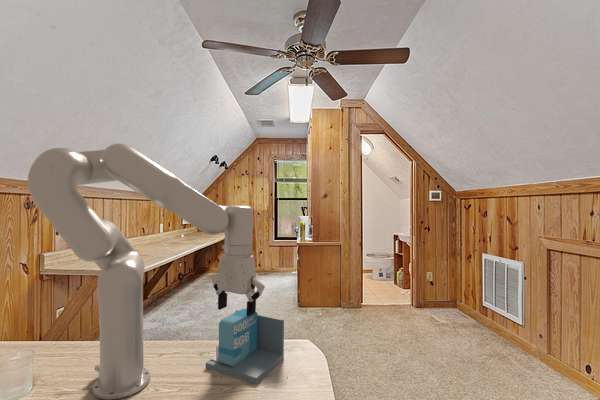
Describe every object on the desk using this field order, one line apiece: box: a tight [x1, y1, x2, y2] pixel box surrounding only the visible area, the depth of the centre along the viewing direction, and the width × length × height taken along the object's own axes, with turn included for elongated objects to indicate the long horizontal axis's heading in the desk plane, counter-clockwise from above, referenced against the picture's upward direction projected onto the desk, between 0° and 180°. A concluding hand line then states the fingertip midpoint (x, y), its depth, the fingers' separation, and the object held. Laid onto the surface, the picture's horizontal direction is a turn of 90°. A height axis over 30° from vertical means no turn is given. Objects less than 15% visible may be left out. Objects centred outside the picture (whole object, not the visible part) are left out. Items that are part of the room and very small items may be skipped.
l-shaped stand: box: [205, 309, 285, 385], centre depth 94 cm, size 16×14×12 cm
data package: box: [218, 308, 259, 366], centre depth 95 cm, size 12×4×12 cm, turn 152°
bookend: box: [209, 343, 220, 362], centre depth 97 cm, size 3×10×4 cm, turn 154°
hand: (236, 311), depth 94 cm, fingers open, 9 cm apart
